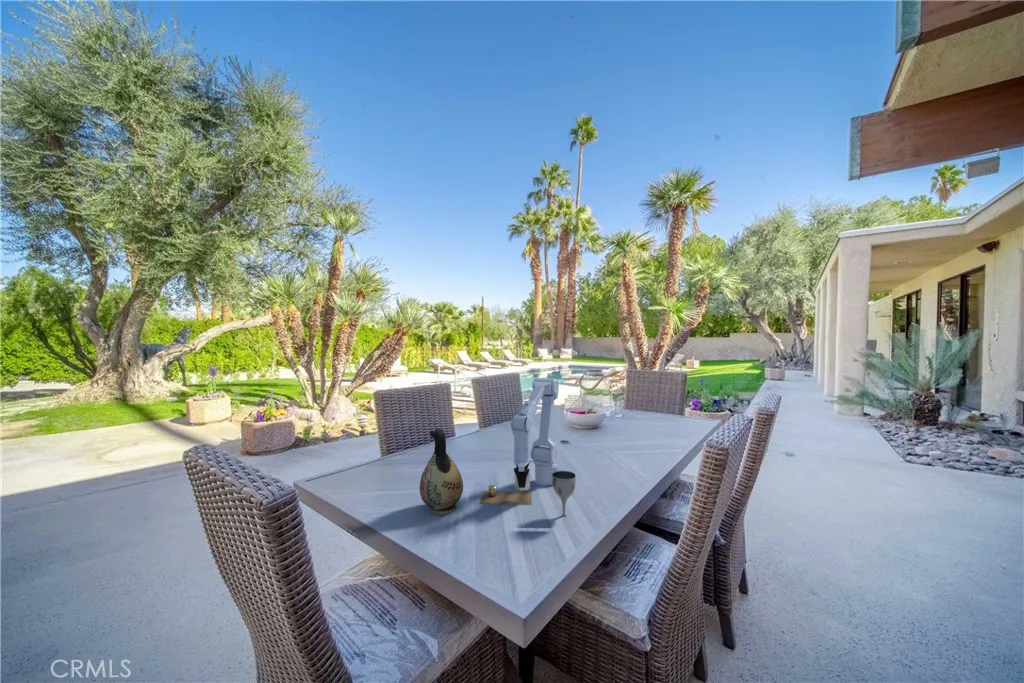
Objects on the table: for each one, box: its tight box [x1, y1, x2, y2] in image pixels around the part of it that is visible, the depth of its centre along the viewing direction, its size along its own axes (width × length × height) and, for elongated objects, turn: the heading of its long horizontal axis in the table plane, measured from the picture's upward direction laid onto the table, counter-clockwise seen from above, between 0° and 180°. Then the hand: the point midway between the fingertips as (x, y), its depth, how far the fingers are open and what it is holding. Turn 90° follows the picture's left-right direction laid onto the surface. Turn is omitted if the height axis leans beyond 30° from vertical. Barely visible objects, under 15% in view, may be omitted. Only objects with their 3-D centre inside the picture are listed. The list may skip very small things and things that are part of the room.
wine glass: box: [552, 470, 577, 518], centre depth 136 cm, size 8×8×15 cm
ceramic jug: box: [419, 427, 464, 515], centre depth 143 cm, size 17×15×30 cm
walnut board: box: [479, 490, 533, 506], centre depth 151 cm, size 19×12×1 cm, turn 87°
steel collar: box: [513, 472, 531, 491], centre depth 148 cm, size 6×6×5 cm
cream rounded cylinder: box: [487, 484, 497, 497], centre depth 153 cm, size 3×3×4 cm
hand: (522, 484), depth 148 cm, fingers closed on steel collar, 6 cm apart
